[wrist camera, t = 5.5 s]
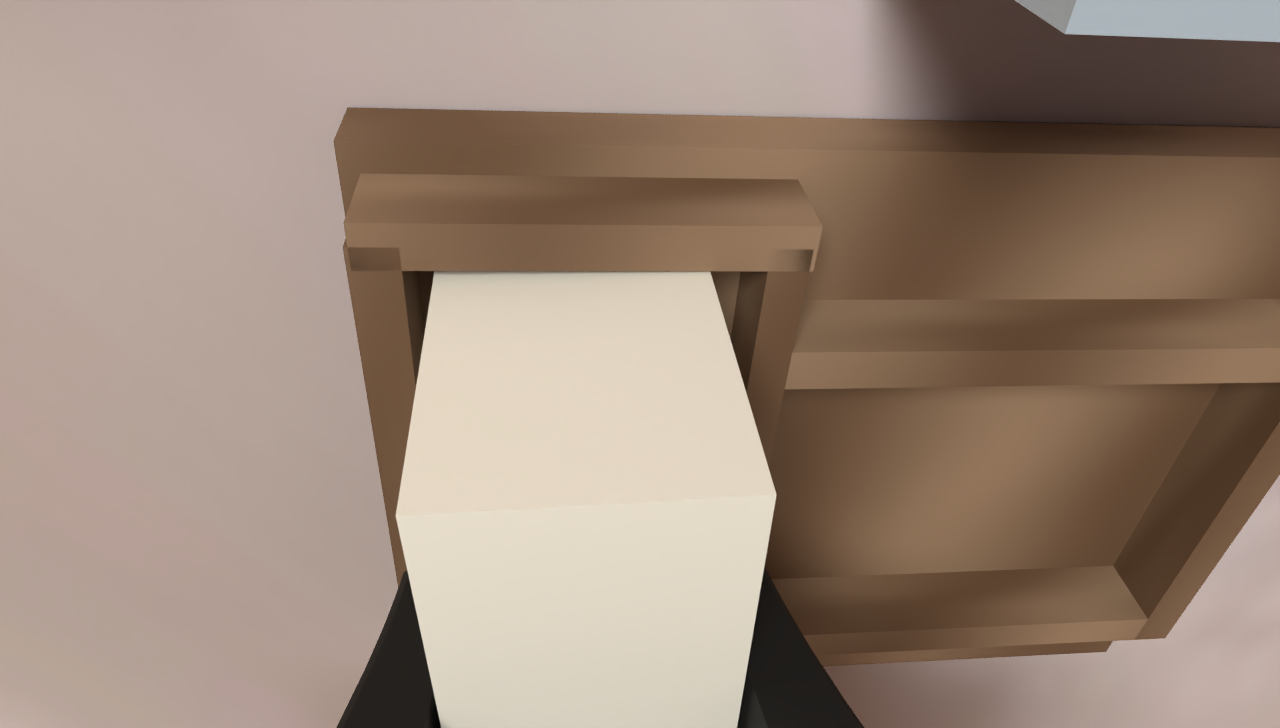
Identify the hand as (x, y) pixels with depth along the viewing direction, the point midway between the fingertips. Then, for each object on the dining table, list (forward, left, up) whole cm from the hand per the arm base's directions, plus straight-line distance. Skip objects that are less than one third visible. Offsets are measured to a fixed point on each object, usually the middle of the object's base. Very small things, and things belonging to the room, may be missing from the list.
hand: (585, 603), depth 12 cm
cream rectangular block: (0, 0, -2) cm, 2 cm away
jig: (-4, 0, -3) cm, 5 cm away
